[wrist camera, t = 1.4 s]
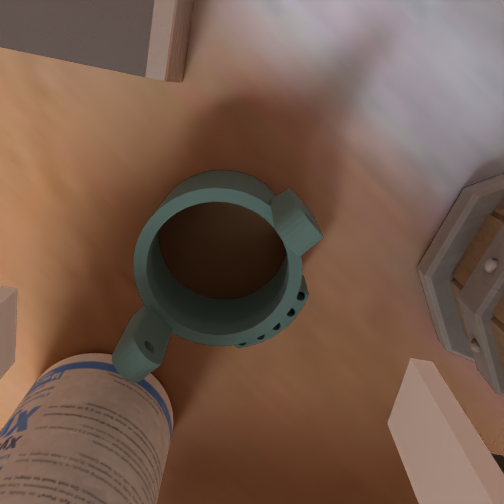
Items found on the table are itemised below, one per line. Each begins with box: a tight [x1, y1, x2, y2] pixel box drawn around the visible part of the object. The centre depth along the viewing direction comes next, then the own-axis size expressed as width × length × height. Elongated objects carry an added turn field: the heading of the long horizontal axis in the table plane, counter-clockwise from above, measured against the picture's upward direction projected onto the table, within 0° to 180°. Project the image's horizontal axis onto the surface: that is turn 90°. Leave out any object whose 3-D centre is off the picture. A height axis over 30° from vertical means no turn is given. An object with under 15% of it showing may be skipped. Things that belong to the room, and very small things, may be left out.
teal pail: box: [112, 170, 323, 383], centre depth 24 cm, size 9×9×9 cm
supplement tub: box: [0, 353, 173, 504], centre depth 25 cm, size 10×10×15 cm
